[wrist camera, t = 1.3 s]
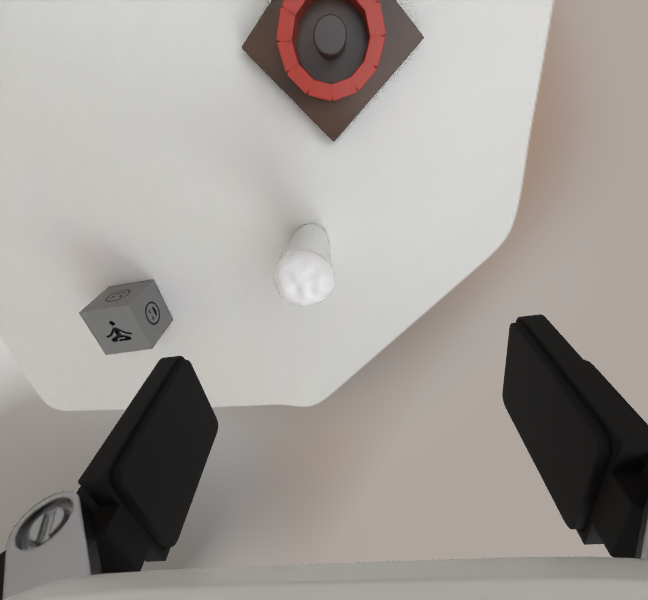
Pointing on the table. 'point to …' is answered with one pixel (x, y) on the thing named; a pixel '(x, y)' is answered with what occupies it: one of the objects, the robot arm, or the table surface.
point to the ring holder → (333, 55)
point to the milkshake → (305, 267)
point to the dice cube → (127, 317)
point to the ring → (288, 23)
